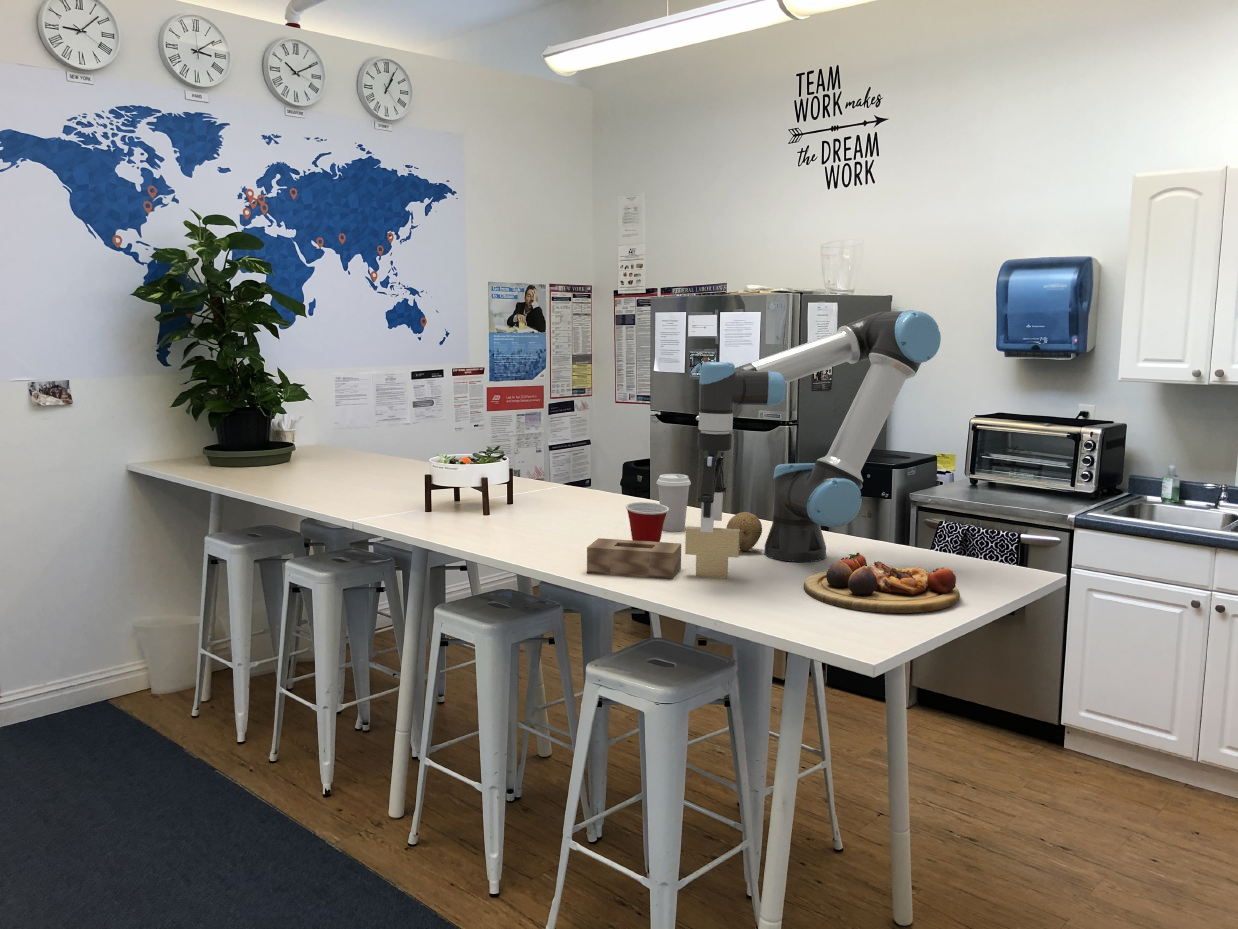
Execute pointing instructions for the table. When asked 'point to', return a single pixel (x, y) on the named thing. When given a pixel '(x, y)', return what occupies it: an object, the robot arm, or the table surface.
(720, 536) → the light wooden block
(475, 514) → the table surface
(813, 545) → the robot arm
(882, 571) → the wooden plate with food
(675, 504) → the coffee cup
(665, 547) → the slotted block
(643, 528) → the plastic cup
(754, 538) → the natural sponge
